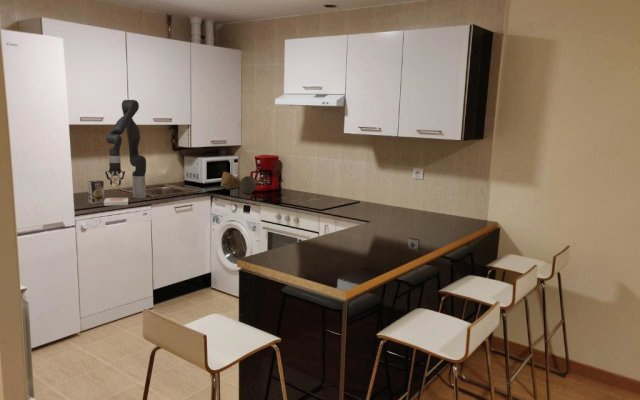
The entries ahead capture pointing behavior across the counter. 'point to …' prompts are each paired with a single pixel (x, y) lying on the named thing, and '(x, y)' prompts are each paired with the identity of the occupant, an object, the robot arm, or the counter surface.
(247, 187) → the dark grey sphere
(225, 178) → the rough brown rock
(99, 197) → the coffee box
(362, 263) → the counter surface
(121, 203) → the white base board
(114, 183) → the maple block
